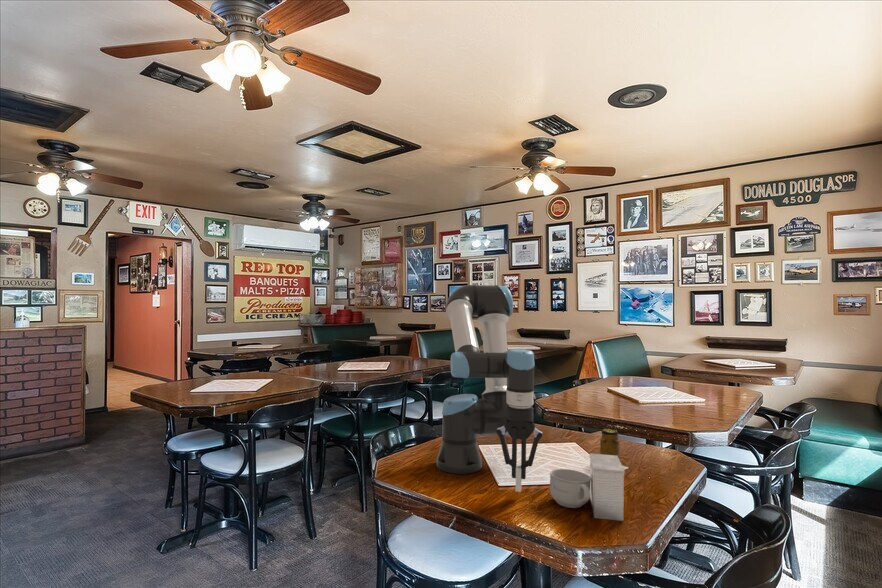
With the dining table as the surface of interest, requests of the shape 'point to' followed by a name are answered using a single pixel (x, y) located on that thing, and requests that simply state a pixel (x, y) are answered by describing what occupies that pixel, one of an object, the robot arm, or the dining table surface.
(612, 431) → the condiment
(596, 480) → the napkin dispenser
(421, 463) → the dining table surface
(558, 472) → the teacup
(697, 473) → the dining table surface
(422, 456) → the dining table surface
